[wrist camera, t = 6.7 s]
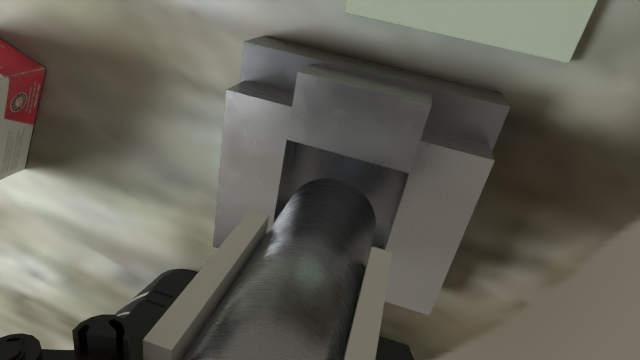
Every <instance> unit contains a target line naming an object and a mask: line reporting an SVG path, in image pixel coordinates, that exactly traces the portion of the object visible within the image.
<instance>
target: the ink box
mask: <svg viewBox="0 0 640 360" xmlns="http://www.w3.org/2000/svg"><path fill="white" fill-rule="evenodd" d="M44 74H45V68H44V67H43V66H41V65H39V64H38V63H36V62H34V61H33V60H31V59H30V58H28V57H27V56H25V55H24V54H22V53H21V52H19V51H17V50H16V49H14V48H13V47H11V46H10V45H8V44H7V43H5V42H4V41H2V40H1V39H0V180H1V179H3V178H5V177H7V176H9V175H12V174H14V173H16V172H19V171H21V170H24V168H25V164H26V160H27V155H28V150H29V145H30V141H31V136H32V131H33V126H34V121H35V117H36V112H37V107H38V103H39V98H40V93H41V89H42V84H43V80H44Z"/></svg>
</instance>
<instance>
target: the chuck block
mask: <svg viewBox="0 0 640 360" xmlns="http://www.w3.org/2000/svg"><path fill="white" fill-rule="evenodd" d="M509 110H510V106H509V104H508V102H507V101H506V99H505V98H504V96H503V94H502V93H498V92H494V91H490V90H486V89H481V88H477V87H473V86H469V85H465V84H461V83H457V82H453V81H448V80H444V79H440V78H436V77H432V76H428V75H424V74H419V73H415V72H411V71H407V70H403V69H399V68H395V67H390V66H386V65H382V64H378V63H374V62H370V61H366V60H362V59H357V58H353V57H349V56H345V55H341V54H337V53H333V52H328V51H324V50H320V49H316V48H312V47H308V46H304V45H300V44H295V43H291V42H287V41H283V40H279V39H275V38H271V37H266V36H261V37H258V38H254V39H251V40H247V41H244V44H243V54H242V64H241V74H240V83H239V84H237V85H235V86H233V87H231V88H229V89H227V90H226V101H225V112H224V124H223V136H222V148H221V159H220V171H219V183H218V195H217V206H216V218H215V230H214V242H213V247H216V248H219V247H220V246H221V244H222V243H223V242H224V241H225V240H226V238H227V237H228V236H229V235H230V234H231V232H232V231H233V230H234V229H235V228H236V226H237V225H238V224H239V223H240V221H241V220H242V219H243V218H244V217H245V215H246V214H247V213H248V212H249V211H250V209H251V210H254V211H258V212H261V213H264V214H267V215H269V221H268V227H267V233H268V231H269V230H270V228H271V227H272V225H273V224H274V222H275V221H276V219H277V218H278V216H279V215H280V214H281V212H282V211H283V209H284V208H285V206H286V205H287V203H288V202H289V200H290V199H291V197H292V196H293V194H294V193H295V192H296V191H297V189H299V188H300V187H301V186H302V185H304V184H306V183H308V182H310V181H313V180H316V179H322V178H330V179H337V180H341V181H344V182H347V183H349V184H351V185H352V186H354V187H356V188H357V189H358V190H360V191H361V192H362V193H363V194H364V195H365V196H366V197H367V199H368V200H369V202H370V203H371V205H372V207H373V210H374V212H375V217H376V229H375V233H374V238H373V242H372V246H373V247H376V248H379V249H383V250H386V251H389V252H392V258H391V264H390V270H389V277H388V283H387V289H386V295H385V302H386V303H389V304H392V305H395V306H399V307H402V308H405V309H408V310H411V311H414V312H417V313H421V314H424V315H425V314H426V315H430V313H431V311H432V308H433V306H434V304H435V301H436V299H437V297H438V294H439V292H440V289H441V287H442V285H443V282H444V280H445V278H446V275H447V273H448V270H449V268H450V266H451V263H452V261H453V259H454V256H455V254H456V251H457V249H458V247H459V244H460V242H461V240H462V237H463V235H464V232H465V230H466V228H467V225H468V223H469V221H470V218H471V216H472V214H473V211H474V209H475V206H476V204H477V202H478V199H479V197H480V195H481V192H482V190H483V187H484V185H485V183H486V180H487V178H488V176H489V173H490V171H491V168H492V166H493V164H494V161H495V160H494V157H493V154H492V151H493V148H494V146H495V143H496V141H497V138H498V136H499V134H500V131H501V129H502V126H503V124H504V122H505V119H506V117H507V114H508V112H509ZM372 246H371V247H372ZM370 251H371V250H370Z"/></svg>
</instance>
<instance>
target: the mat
mask: <svg viewBox="0 0 640 360" xmlns="http://www.w3.org/2000/svg"><path fill="white" fill-rule="evenodd" d="M597 1H598V0H347V5H346V10H345V12H347V13H351V14H355V15H360V16H364V17H369V18H373V19H377V20H382V21H386V22H390V23H395V24H399V25H404V26H408V27H412V28H417V29H421V30H426V31H430V32H434V33H439V34H443V35H448V36H452V37H456V38H461V39H465V40H470V41H474V42H478V43H483V44H487V45H492V46H496V47H500V48H505V49H509V50H514V51H518V52H522V53H527V54H531V55H536V56H540V57H544V58H549V59H553V60H558V61H562V62H566V63H569V62H570V60H571V57H572V55H573V53H574V51H575V49H576V46H577V44H578V42H579V40H580V38H581V36H582V33H583V31H584V29H585V27H586V25H587V22H588V20H589V18H590V16H591V14H592V12H593V9H594V7H595V5H596V3H597Z"/></svg>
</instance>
